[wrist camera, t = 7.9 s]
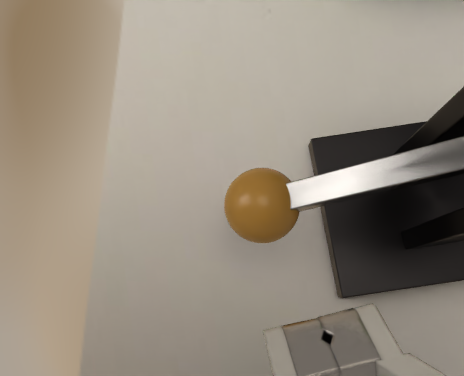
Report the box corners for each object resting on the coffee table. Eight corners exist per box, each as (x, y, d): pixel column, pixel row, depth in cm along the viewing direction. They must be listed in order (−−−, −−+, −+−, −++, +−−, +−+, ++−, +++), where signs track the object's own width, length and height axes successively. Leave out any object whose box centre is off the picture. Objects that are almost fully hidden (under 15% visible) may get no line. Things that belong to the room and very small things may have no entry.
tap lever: (251, 249, 20) (215, 248, 18) (241, 183, 21) (205, 173, 18) (636, 173, 14) (673, 153, 11) (603, 82, 15) (630, 42, 12)
